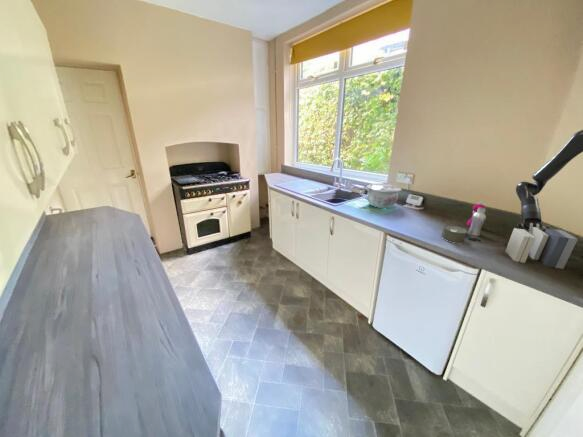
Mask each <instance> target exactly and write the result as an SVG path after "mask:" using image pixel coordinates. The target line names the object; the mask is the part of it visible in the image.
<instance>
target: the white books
mask: <svg viewBox="0 0 583 437" xmlns="http://www.w3.org/2000/svg"><path fill="white" fill-rule="evenodd" d="M534 240H535V237H534V236H533V235H531V234H530V233H528V232H527V231H526V229H525V230H524V229H518V228H517V227H514V228H513V229H512V231H511V235H510V238H509V241H508V242H507V246H506V248H505V250H504V252H505V253H506V254H507V256H508V257H509V258H511V260H513V261H514V262H516V263H522V264H526V262H527V259H528V257H529V255H528V254H529V252H530V250H531V247H532V245H533V243H534Z"/></svg>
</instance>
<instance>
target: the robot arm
mask: <svg viewBox="0 0 583 437" xmlns="http://www.w3.org/2000/svg"><path fill="white" fill-rule="evenodd" d="M582 153H583V129H581V130H578V131H576V132H575V133H574V134H572V136H571V137H570V139H569V140H568V141H567V143H566V144H565V145H564V146H563V147H562V148H561V149H560V150H559V151H558V152H557V153H556V154H555V155H554V156H553V157H552V158H551V159H549V160H548V161H547V162H546V163H545V164H544V165H542V166H541V167H540V168H539V169H538V170H537V171H535V173H534V174H532V176H531V178H532V179H533V180H534V182H529V181H525V180H524V181H520V182H518V183H517V185H516V186H515V193H516V195H517V197H518V200H519V201H520V215H521V223H517V224H516V225H515V228H517V229H524V230H526V231H527V232H528V233H530V234H531V235H532V227H536V228H538V229H540V230H541V231H543V232H545V230H546V228H547V229H550V227H549V226H544V225H543V223H542V212H541V208H540V203H539V198H538V197H537V196H538V194H540V193H541V192H542V190H543V189H544V187H545V186H546V184H547V183H548V182H549V181H550V180H551V179H552V178H554V177H555V176H556V175H557V174H558V173H559V172H561V171H562V170H563V168H565V167H566V165H567V164H569V163H570V162H571V161H572V160H573V159H574V158H576V157H578V155H580V154H582Z"/></svg>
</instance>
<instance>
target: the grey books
mask: <svg viewBox="0 0 583 437" xmlns="http://www.w3.org/2000/svg"><path fill="white" fill-rule="evenodd" d="M544 233H546V234H547V235H549V237H548V239H547V241H546V244H545V246H544V248H543V250H542V253H541V255H540V257H539V259H538V260H537V261H539V262H540V263H542V264H543V265H544V266H545V267H547V268H555V269H561V270H564V268H565V266H566V265H567V262H568V260H569V258H570V257H571V254H572V252H573V250H574V248H575V246H576V245H577V242H578V238H577V237H575V236H574V235H571V234H570V233H568V232H566V231H564V230H563V229H554V228H549V229H547V228H546V230H545V232H544Z"/></svg>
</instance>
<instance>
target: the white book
mask: <svg viewBox="0 0 583 437" xmlns="http://www.w3.org/2000/svg"><path fill="white" fill-rule="evenodd" d="M532 235H533V236H534V237H535V240H534V243H533V245H532V247H531V250H530V252H529V254H528V257H529V258H531V259H532V260H533V261H534V260H535V261H539V260H538V259H539V257H540V255H541V253H542V250H543V248H544V246H545V244H546V241H547V239H548V237H549V235H547V234H546V233H544V232H543V231H542V229H541V228H540V229H538V228H536V227H532Z"/></svg>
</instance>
